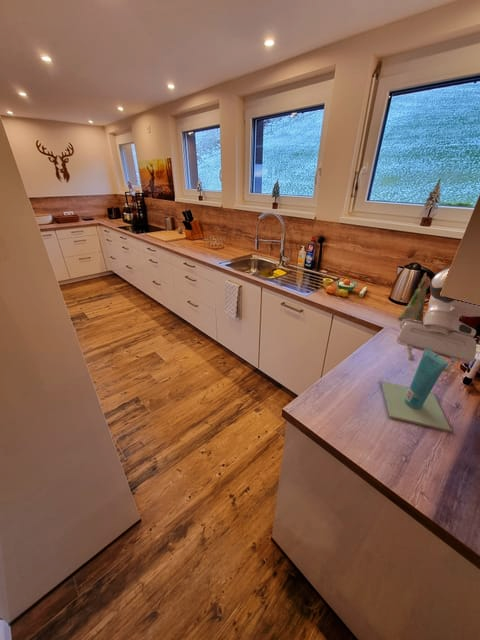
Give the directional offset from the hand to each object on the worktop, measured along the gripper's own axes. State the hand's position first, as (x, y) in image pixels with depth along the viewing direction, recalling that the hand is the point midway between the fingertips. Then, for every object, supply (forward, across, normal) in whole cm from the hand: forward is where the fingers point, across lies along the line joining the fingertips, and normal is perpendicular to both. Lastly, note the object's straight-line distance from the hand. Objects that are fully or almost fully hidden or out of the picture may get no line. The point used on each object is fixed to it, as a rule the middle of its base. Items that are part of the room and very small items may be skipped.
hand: (427, 365), depth 81 cm
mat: (+12, 0, +6) cm, 14 cm away
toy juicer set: (-49, -40, +68) cm, 92 cm away
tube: (+12, 0, +6) cm, 13 cm away
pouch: (-34, -3, +53) cm, 63 cm away
